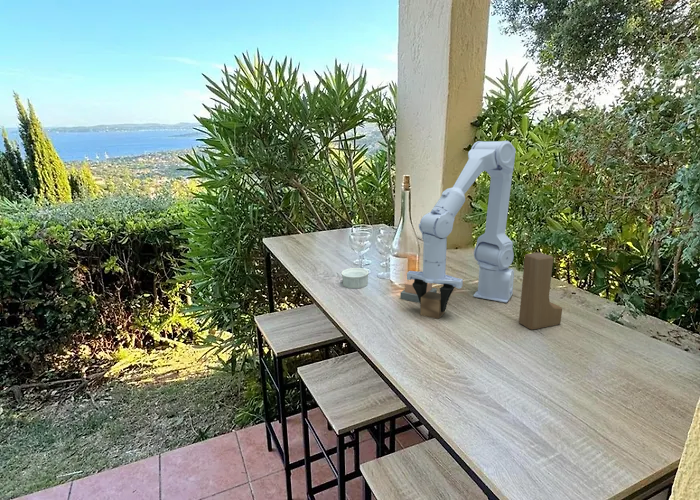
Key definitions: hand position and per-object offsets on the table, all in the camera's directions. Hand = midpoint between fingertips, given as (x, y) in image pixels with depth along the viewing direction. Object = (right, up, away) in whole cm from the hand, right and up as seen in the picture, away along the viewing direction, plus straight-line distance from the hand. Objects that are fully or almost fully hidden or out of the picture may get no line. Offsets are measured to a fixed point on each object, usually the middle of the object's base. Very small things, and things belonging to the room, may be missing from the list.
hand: (433, 308), depth 105 cm
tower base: (-2, +1, +12) cm, 12 cm away
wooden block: (+25, -3, -7) cm, 26 cm away
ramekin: (-20, +4, +23) cm, 31 cm away
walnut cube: (0, -1, 0) cm, 1 cm away
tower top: (-2, +4, +11) cm, 12 cm away
